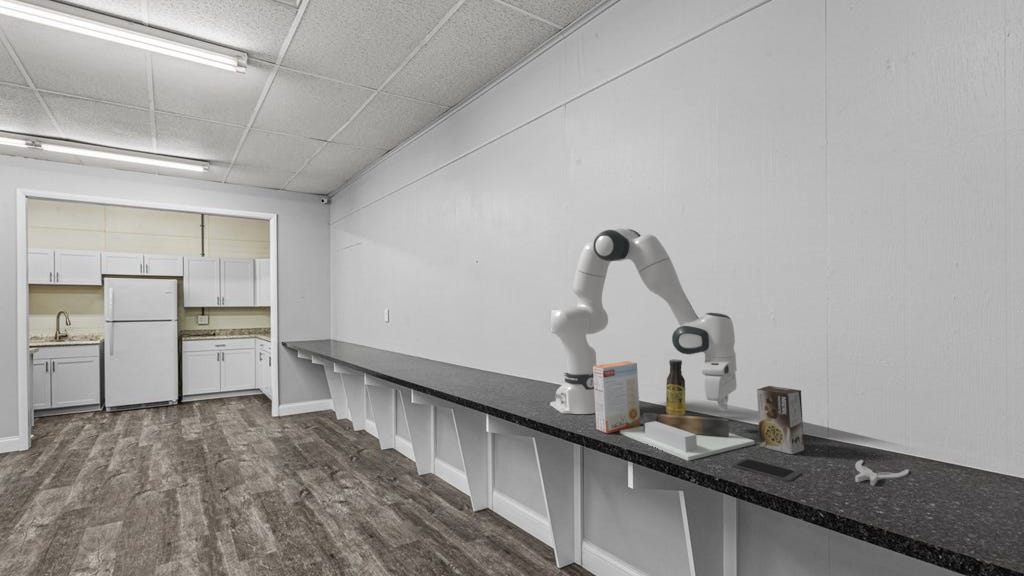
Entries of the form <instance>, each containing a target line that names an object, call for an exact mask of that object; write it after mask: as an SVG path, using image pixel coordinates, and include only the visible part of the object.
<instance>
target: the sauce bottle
mask: <svg viewBox="0 0 1024 576" xmlns="http://www.w3.org/2000/svg"><path fill="white" fill-rule="evenodd" d="M682 361H683V360H682V359H669V374H668V376H667V378H666V385H665V396H666V397H665V401H666V402H665V412H666V414H667V415H682V416H686V380H685V378H684V376H683V372H682V364H683V362H682Z"/></svg>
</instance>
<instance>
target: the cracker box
mask: <svg viewBox="0 0 1024 576" xmlns="http://www.w3.org/2000/svg"><path fill="white" fill-rule="evenodd" d="M593 379H594V396H595V413H594V414H595V425H596V426H595V428H596V431H599V432H602V433H605V434H612V433H617V432H620V430H625V429H630V428H635V427H640V426H641V414H640V395H639V377H638V363H637V362H633V361H619V362H612V363H611V362H610V363H605V364H599V365H598V364H596V366H593Z"/></svg>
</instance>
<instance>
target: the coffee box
mask: <svg viewBox="0 0 1024 576" xmlns="http://www.w3.org/2000/svg"><path fill="white" fill-rule="evenodd" d="M756 394H757V395H756V398H757V412H758V413H757V414H758V415H757V416H758V429H759V430H758V431H759V447H761V448H765V449H769V450H772V451H777V452H781V453H785V454H789V455H794V454H797V453H800V452H803V451H804V450H805V447H804V446H805V444H804V443H805V442H804V441H805V439H804V424H803V407H802V406H803V405H802V389H801V390H800V389H793V388H788V387H782V386H781V387H779V386H775V385H774V386H773V385H767V386H764V387H761V388H757V389H756Z"/></svg>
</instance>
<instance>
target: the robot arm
mask: <svg viewBox="0 0 1024 576" xmlns="http://www.w3.org/2000/svg"><path fill="white" fill-rule="evenodd" d="M625 260H630V261H631V262H632V263H633V264H634V266H635V269H636V270H637V272H638V274H639V277H640V278H641V281H642V282H643V283H644V285H645V286H646V288H647V290H649V291H650V292H651V293H653V294H655V295H656V296H659V297H660V298H662V300H664V301H665V302H666V303H667V304H668V306H669V307H670V310H671V311H672V313H673V315H674V317H675V319H676V320H677V323H678V325H679V326H678V327H677V328H676V329H675V330H673V331H674V332H673V333H672V336H671V341H672V344H673V345H672V346H674V348H675V350H676V351H677V352H679V353H680V354H684V355H690V356H691V355H695V354H699V353H704V363H703V365H702V367H701V374H702V375H703V376H704V377H703V382H704V391H705V393H704V394H705V397H706V400H707V401H712V402H713V401H714V402H717V404H718V410H719V411H722V412H724V411H726V410H727V409H728V407H729V406H728V403H729V395H730V394H731V393H733V392H734V391H736V389H737V376H736V372H737V359H736V358H737V355H736V352H735V343H736V342H735V341H736V338H735V337H736V336H735V330H734V324H733V321H732V319H731V317H730V316H729V315H727V314H723V313H719V312H706V313H705V314H704V315H702V316H700V317H698V315H697V313H696V312H695V310H694V308H693V306H692V305H691V303H690V301H689V299H688V297H687V295H686V293H685V292H684V289H683V286H682V284H681V282H680V280H679V279H680V278H679V277H678V274H677V271H676V269H675V266H674V265H673V262H672V260H671V258H670V256H669V254H668V252H667V251H666V249H665V247H664V246H663V244H662V242H660V241H659V239H658V238H657V237H656V236H655V235H654V234H653V235H652V234H643V235H641V234H640V233H639V232H637V231H636V230H634V229H630V228H628V229H627V228H616V229H606V230H603V231H601V232H600V233H598V234H597V235H596V236H595V238H594V239H593V241H589V242H588V243H586V244H585V245H584V247H583V249H581V253H580V256H579V258H578V261H577V265H576V269H575V274H574V277H573V278H574V279H573V282H572V291H573V292H574V294H575V295H576V296H577V305H576V306H565V307H562V308H559V309H557V310H554V311H553V313H552V314H551V316H550V320H549V322H550V323H549V324H550V328H551V330H552V332H553V333H554V334H555V335H556V336H557V337H558V338H559V340H560V341H561V343H562V345H563V347H564V351H565V357H566V358H565V360H566V372H564V373H563V374H564V375H563V376H564V382H563V383H562V384H561V385H560V386H559V387H558V388H557V389H556V392H555V400H553V401H550V403H549V405H550V407H552V408H554V409H555V410H556V411H558V412H559V413H560V414H571V415H572V414H575V415H590V414H595V396H594V379H593V366H597V352H596V350H595V349H594V348H593V347H592V346H590V345H589V342H588V340H587V335H593V334H597V333H599V332H601V331H603V330H605V329H606V328H607V326H608V322H609V316H608V313H607V311H606V310H605V308H604V306H603V305H604V304H603V291H604V286H605V284H606V283H605V282H606V279H607V278H606V277H607V273H608V269H609V266H610V264H611V262H623V261H625Z"/></svg>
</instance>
